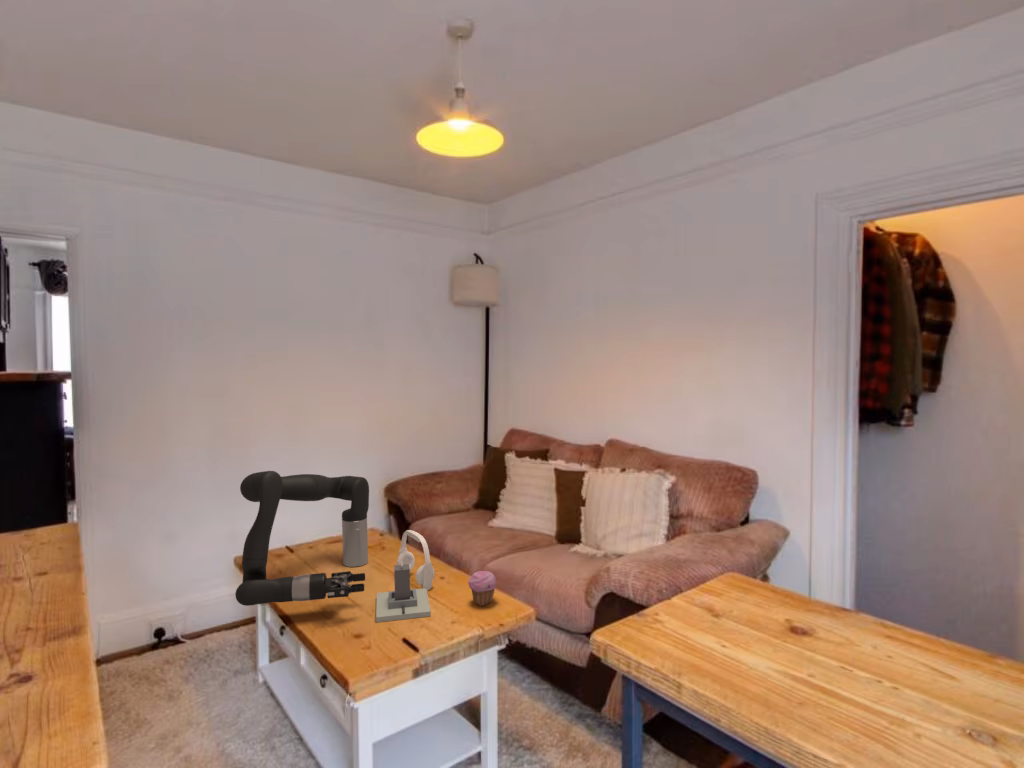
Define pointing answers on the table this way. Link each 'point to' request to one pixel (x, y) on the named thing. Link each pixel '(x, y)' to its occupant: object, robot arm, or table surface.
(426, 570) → the headset
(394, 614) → the charging dock
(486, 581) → the cupcake
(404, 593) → the charger block
